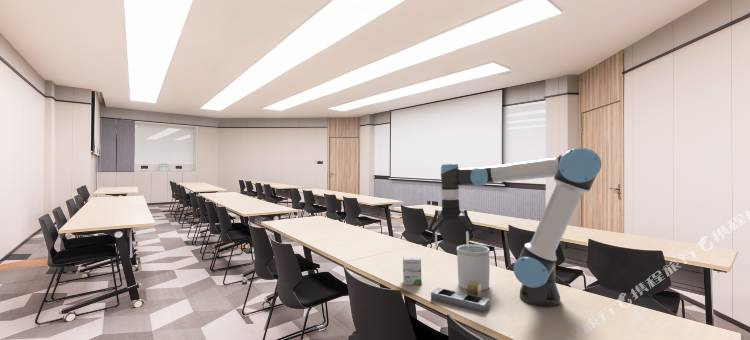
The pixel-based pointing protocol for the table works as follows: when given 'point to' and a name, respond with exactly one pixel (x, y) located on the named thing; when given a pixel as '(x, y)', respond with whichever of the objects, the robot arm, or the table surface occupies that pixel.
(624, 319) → the table surface
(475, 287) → the block
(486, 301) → the grey slotted tray
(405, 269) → the ink box
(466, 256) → the utensil holder
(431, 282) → the table surface
